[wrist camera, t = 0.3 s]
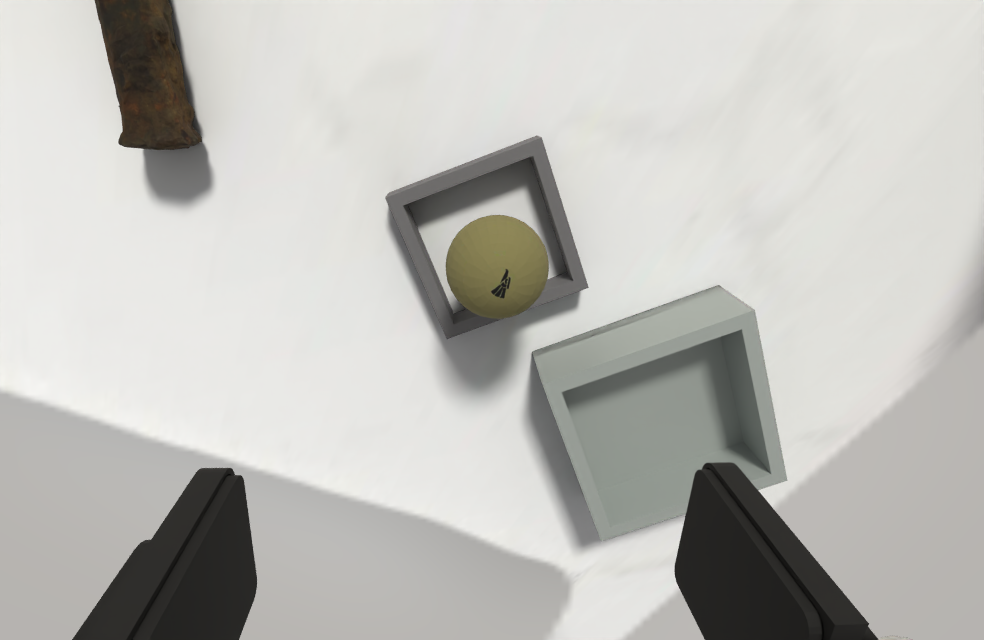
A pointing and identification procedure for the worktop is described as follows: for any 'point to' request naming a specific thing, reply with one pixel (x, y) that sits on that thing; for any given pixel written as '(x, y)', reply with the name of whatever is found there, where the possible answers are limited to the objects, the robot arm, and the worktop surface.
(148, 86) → the hand tool
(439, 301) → the bulb holder
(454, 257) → the light bulb
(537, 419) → the worktop surface
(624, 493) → the bin
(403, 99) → the worktop surface
